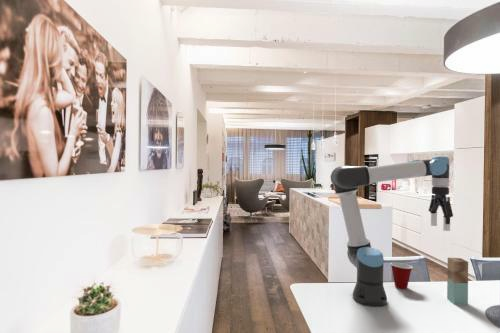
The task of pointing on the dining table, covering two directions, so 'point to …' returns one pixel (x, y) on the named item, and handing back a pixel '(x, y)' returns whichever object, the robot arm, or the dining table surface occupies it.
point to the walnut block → (457, 270)
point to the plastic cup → (401, 274)
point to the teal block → (457, 292)
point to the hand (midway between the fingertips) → (439, 228)
